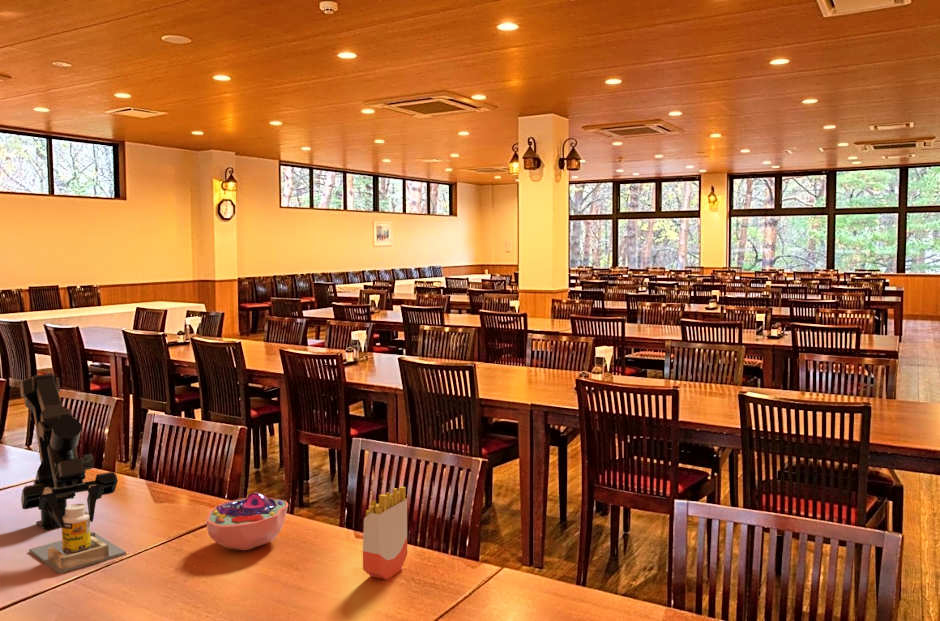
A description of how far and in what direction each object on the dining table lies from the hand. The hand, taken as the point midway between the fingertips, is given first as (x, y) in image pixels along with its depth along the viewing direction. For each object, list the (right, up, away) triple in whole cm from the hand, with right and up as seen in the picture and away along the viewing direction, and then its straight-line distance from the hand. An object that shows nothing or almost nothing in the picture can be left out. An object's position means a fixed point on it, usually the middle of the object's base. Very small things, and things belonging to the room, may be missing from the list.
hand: (77, 524), depth 169 cm
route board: (-3, -8, +5) cm, 10 cm away
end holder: (-1, -8, +2) cm, 9 cm away
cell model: (+34, -8, +11) cm, 37 cm away
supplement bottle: (-1, -7, +2) cm, 7 cm away
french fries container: (+68, -9, -5) cm, 68 cm away
